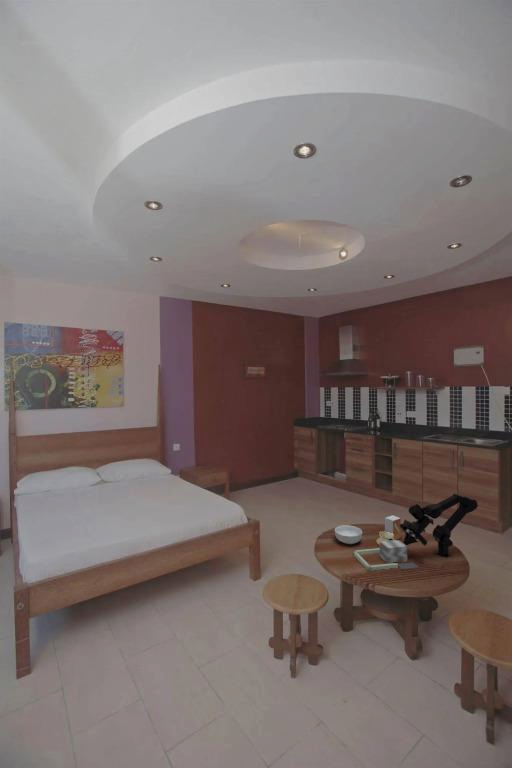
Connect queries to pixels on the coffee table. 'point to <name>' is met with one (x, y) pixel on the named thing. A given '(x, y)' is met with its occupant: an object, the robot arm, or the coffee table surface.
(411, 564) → the green u-shaped guide frame
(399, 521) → the small box
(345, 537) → the cereal bowl
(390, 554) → the block
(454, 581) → the coffee table surface
